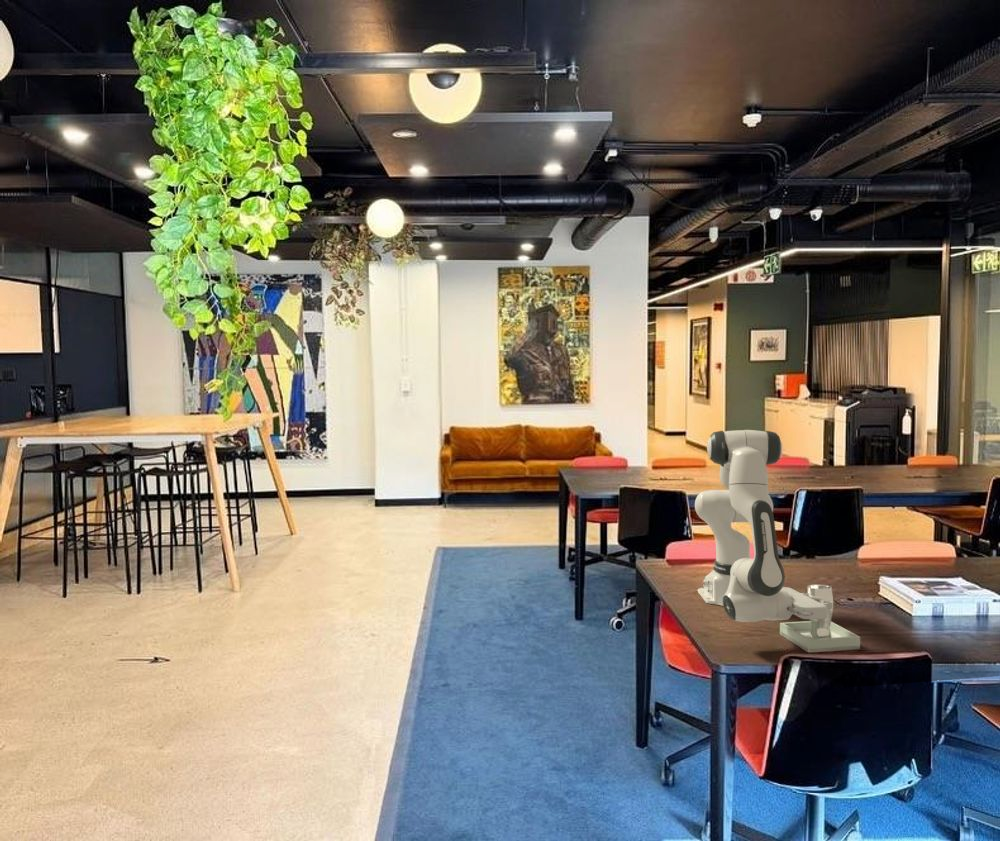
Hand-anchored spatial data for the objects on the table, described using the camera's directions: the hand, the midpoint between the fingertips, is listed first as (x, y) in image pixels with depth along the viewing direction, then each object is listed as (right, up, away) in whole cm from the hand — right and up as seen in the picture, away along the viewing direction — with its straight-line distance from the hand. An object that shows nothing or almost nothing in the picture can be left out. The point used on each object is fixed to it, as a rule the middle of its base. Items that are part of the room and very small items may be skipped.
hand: (822, 601), depth 211 cm
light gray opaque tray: (-1, -12, +1) cm, 12 cm away
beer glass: (0, -11, 0) cm, 11 cm away
